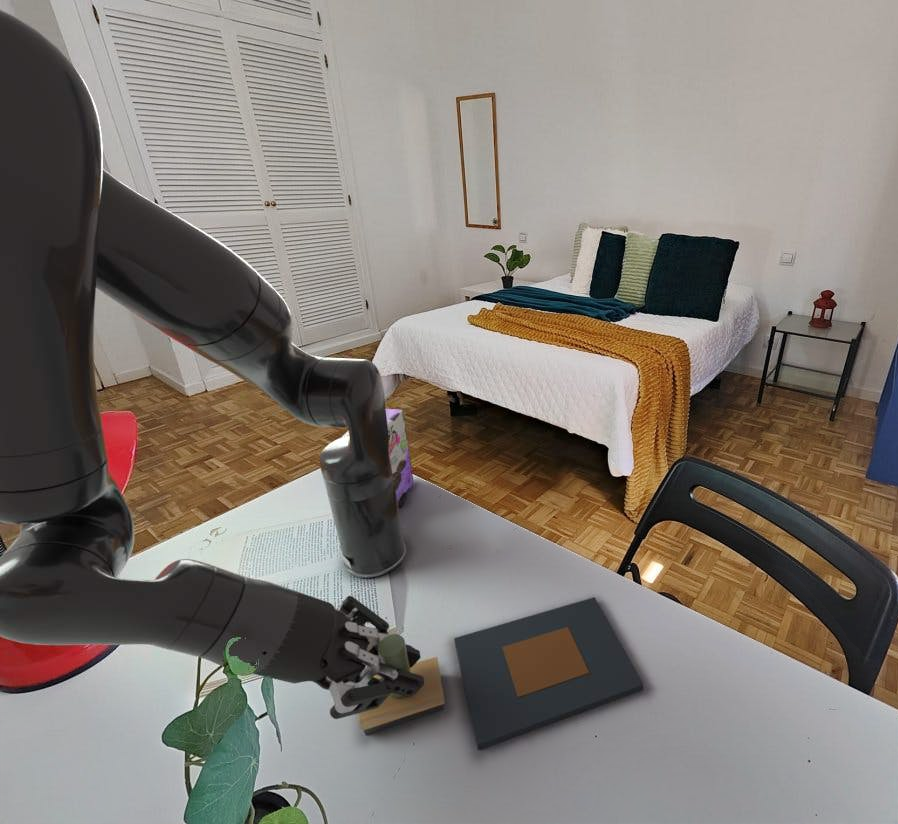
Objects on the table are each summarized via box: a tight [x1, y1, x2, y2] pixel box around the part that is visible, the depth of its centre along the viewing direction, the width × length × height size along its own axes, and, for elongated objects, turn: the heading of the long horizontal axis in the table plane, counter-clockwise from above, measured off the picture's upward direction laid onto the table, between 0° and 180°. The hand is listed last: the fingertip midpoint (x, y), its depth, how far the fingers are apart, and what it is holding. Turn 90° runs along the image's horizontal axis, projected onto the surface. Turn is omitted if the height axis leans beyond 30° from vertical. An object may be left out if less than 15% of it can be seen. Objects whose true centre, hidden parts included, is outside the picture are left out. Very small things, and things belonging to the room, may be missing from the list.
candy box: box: [339, 408, 415, 502], centre depth 87 cm, size 14×6×16 cm, turn 168°
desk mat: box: [453, 596, 645, 750], centre depth 61 cm, size 14×20×1 cm
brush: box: [358, 633, 446, 736], centre depth 55 cm, size 5×9×10 cm, turn 110°
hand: (416, 672), depth 56 cm, fingers closed on brush, 3 cm apart
